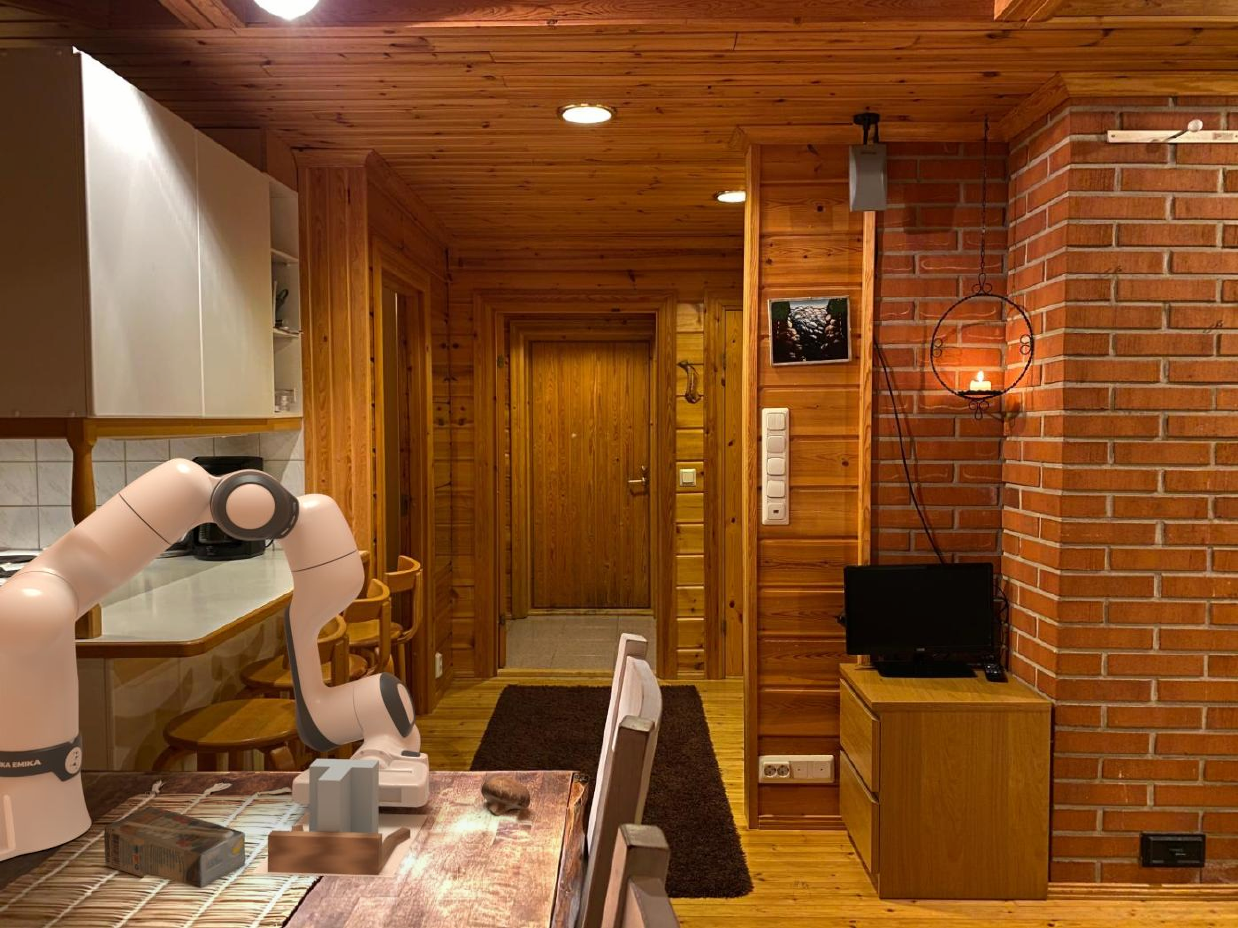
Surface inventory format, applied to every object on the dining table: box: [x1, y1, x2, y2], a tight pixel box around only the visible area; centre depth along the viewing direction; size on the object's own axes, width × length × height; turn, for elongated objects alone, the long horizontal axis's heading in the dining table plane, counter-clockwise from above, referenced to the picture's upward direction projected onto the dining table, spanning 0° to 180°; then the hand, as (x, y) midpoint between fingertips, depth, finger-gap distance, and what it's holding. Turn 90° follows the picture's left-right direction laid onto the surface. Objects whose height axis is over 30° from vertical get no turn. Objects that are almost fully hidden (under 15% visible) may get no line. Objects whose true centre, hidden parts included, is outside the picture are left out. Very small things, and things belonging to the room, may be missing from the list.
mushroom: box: [480, 776, 531, 817], centre depth 145 cm, size 8×8×6 cm
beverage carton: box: [103, 805, 246, 889], centre depth 125 cm, size 8×19×6 cm, turn 66°
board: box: [250, 811, 429, 879], centre depth 131 cm, size 19×20×1 cm
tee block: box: [308, 758, 380, 833], centre depth 127 cm, size 9×8×12 cm
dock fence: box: [267, 825, 410, 875], centre depth 128 cm, size 18×12×5 cm
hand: (346, 807), depth 132 cm, fingers closed
